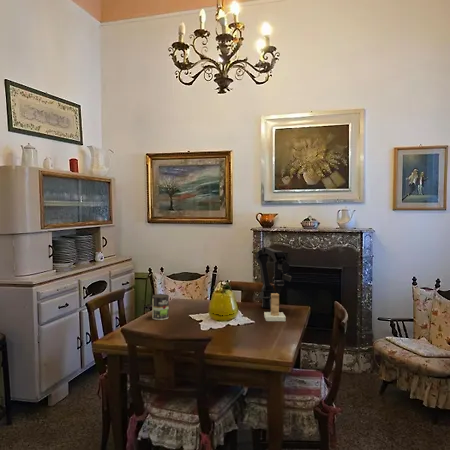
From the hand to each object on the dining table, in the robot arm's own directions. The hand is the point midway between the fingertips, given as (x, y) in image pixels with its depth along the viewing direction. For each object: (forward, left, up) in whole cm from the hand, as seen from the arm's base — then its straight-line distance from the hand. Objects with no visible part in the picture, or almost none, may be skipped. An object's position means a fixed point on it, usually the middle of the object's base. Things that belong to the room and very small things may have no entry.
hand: (278, 293), depth 284 cm
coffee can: (+13, -76, -13) cm, 78 cm away
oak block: (+13, -4, -11) cm, 17 cm away
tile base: (+13, -4, -13) cm, 19 cm away
